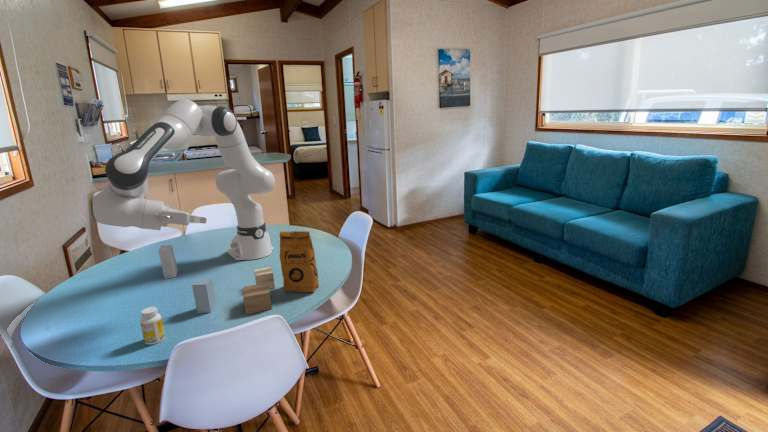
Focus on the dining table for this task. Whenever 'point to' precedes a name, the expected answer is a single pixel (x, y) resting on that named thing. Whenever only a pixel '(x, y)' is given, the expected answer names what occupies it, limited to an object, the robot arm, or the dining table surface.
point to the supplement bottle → (152, 326)
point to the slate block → (204, 295)
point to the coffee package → (298, 262)
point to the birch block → (264, 276)
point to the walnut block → (257, 298)
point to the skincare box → (168, 261)
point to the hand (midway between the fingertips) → (205, 220)
